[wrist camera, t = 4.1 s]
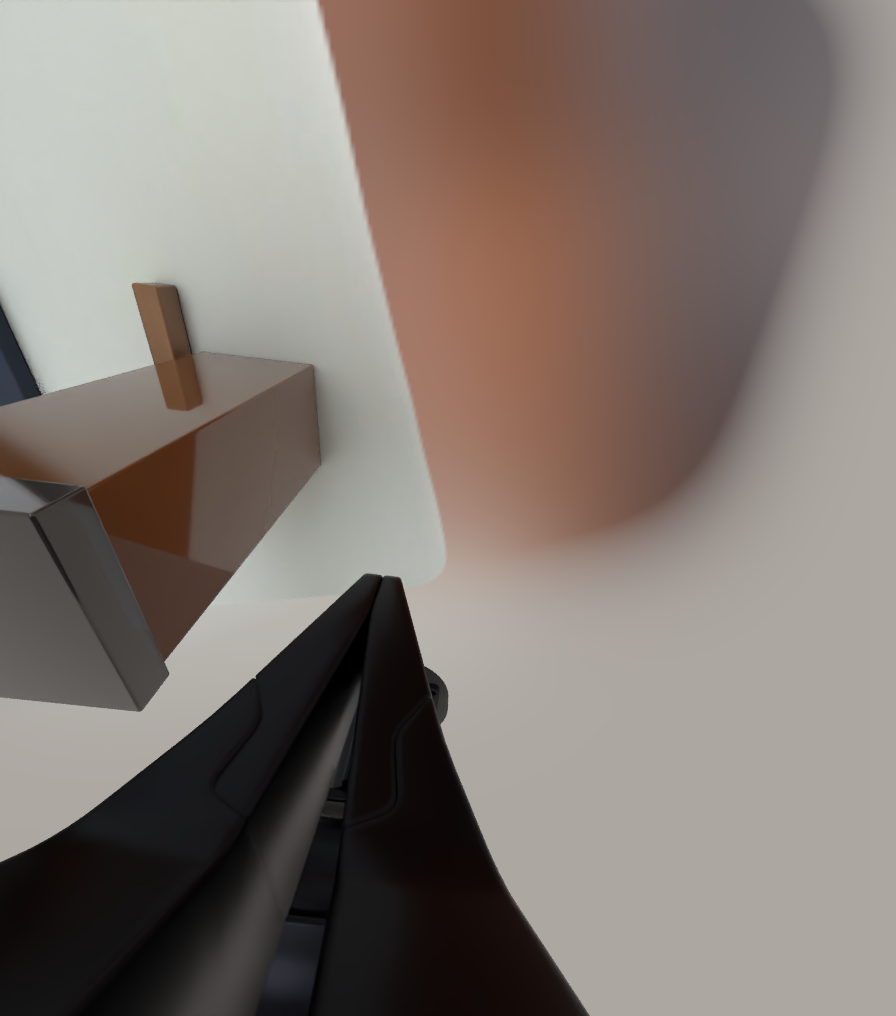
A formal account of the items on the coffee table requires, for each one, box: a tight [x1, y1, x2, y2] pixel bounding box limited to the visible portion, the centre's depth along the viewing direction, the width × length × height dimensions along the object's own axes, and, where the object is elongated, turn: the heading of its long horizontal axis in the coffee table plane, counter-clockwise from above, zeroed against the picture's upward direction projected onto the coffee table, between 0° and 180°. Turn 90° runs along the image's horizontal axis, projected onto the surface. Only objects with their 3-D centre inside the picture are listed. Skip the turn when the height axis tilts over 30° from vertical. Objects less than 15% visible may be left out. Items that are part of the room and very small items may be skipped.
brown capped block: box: [0, 352, 321, 712], centre depth 13 cm, size 5×5×13 cm
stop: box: [132, 283, 191, 365], centre depth 18 cm, size 10×1×1 cm, turn 174°
